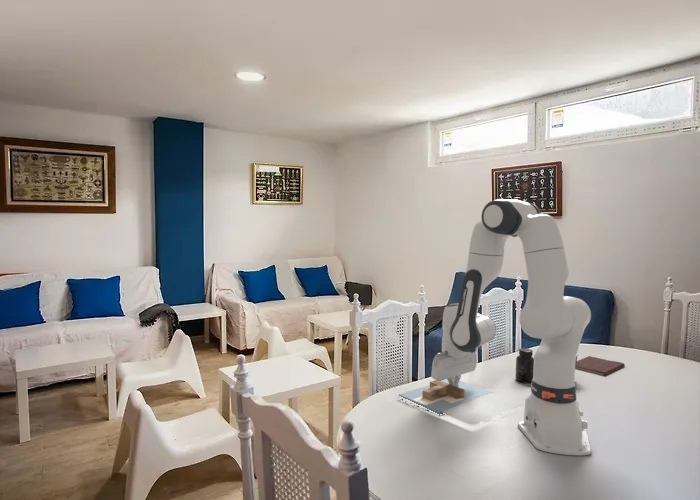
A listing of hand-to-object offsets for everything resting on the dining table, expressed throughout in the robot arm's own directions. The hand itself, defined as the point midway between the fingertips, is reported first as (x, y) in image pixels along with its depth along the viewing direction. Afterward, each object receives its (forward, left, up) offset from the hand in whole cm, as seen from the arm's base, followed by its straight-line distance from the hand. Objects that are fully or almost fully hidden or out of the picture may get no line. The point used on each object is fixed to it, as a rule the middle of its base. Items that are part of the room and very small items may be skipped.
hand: (453, 387), depth 163 cm
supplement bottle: (+21, -28, -3) cm, 35 cm away
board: (-3, +2, -3) cm, 5 cm away
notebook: (+46, -61, -3) cm, 76 cm away
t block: (-5, +5, -1) cm, 8 cm away
